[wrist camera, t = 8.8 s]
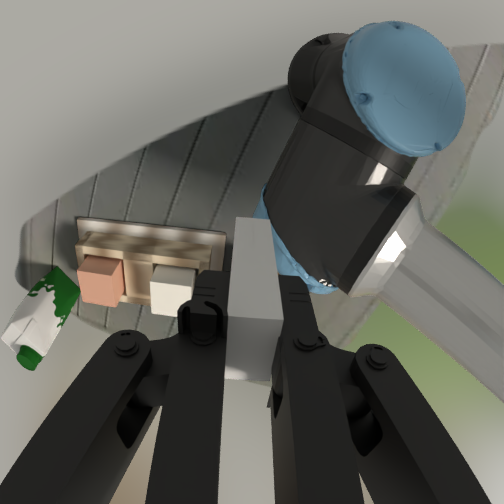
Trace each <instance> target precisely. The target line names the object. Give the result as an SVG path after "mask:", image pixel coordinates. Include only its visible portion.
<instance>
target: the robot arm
mask: <svg viewBox="0 0 504 504" xmlns="http://www.w3.org/2000/svg"><path fill="white" fill-rule="evenodd" d="M288 88H289V93H290V96H291V99H292V101H293V103H294V105H295V107H296V108H297V110H298V111H299V113H300V114H301V115H302V116H301V118H300V119H299V121H298V123H297V125H296V127H295V129H294V131H293V133H292V134H291V136H290V138H289V140H288V142H287V144H286V146H285V148H284V150H283V152H282V154H281V156H280V158H279V160H278V162H277V164H276V166H275V168H274V170H273V172H272V174H271V176H270V178H269V180H268V182H267V183H266V184H265V185H264V187H263V188H262V191H261V198H260V200H259V203H258V205H257V207H256V210H255V212H254V214H253V217H252V218H246V217H236V224H235V234H234V244H233V255H232V265H231V272H227V271H215V270H203V271H202V272H201V273H200V274H199V275H198V276H197V277H196V281H195V285H194V289H193V293H192V298H191V300H188V301H186V302H185V303H183V304H182V305H180V307H179V309H178V310H177V318H178V332H179V333H177V334H176V335H174V336H172V337H170V338H166V339H161V340H153V341H149V339H148V338H147V337H146V336H145V335H144V334H142V333H140V332H139V331H134V330H121V331H118V332H116V333H114V334H112V335H111V336H110V337H108V338H107V339H106V340H105V342H104V343H103V344H102V345H101V347H100V348H99V349H98V351H97V352H96V353H95V354H94V355H93V357H92V358H91V359H90V361H89V362H88V363H87V364H86V366H85V367H84V368H83V369H82V371H81V372H80V373H79V375H78V376H77V377H76V379H75V380H74V381H73V382H72V384H71V385H70V387H69V388H68V389H67V391H66V392H65V393H64V395H63V396H62V397H61V398H60V400H59V401H58V402H57V404H56V405H55V406H54V408H53V409H52V410H51V412H50V413H49V415H48V416H47V417H46V419H45V420H44V421H43V423H42V424H41V426H40V427H39V428H38V430H37V431H36V433H35V434H34V436H33V437H32V438H31V440H30V441H29V443H28V444H27V446H26V447H25V449H24V450H23V451H22V453H21V454H20V456H19V457H18V459H17V460H16V462H15V463H14V465H13V466H12V468H11V469H10V471H9V473H8V474H7V475H6V477H5V478H4V480H3V482H2V483H1V485H0V504H109V503H110V501H111V499H112V497H113V495H114V493H115V491H116V489H117V487H118V486H119V483H120V482H121V480H122V478H123V476H124V474H125V472H126V470H127V468H128V466H129V465H130V463H131V460H132V459H133V457H134V455H135V453H136V451H137V449H138V448H139V446H140V444H141V442H142V440H143V438H144V436H145V434H146V432H147V431H148V429H149V426H150V425H151V423H152V421H153V419H154V417H155V415H156V414H157V412H158V410H159V408H160V406H163V407H162V412H161V416H160V421H159V427H158V432H157V437H156V442H155V448H154V454H153V460H152V465H151V470H150V477H149V482H148V489H147V495H146V501H145V504H218V484H219V463H220V445H221V427H222V410H223V394H224V378H225V379H239V380H257V381H270V378H271V374H272V388H271V392H270V396H269V400H268V404H267V407H268V408H269V407H270V406H271V425H272V444H273V467H274V490H275V504H364V499H363V493H362V488H361V483H360V477H359V473H360V475H361V477H362V480H363V482H364V484H365V485H366V488H367V490H368V492H369V494H370V496H371V498H372V500H373V502H374V504H491V502H490V500H489V499H488V497H487V495H486V493H485V492H484V490H483V489H482V487H481V485H480V484H479V482H478V480H477V478H476V477H475V475H474V473H473V472H472V470H471V468H470V467H469V465H468V464H467V462H466V461H465V459H464V457H463V455H462V454H461V452H460V451H459V449H458V447H457V446H456V444H455V443H454V441H453V440H452V438H451V437H450V435H449V433H448V432H447V430H446V429H445V427H444V426H443V424H442V423H441V421H440V420H439V418H438V417H437V415H436V414H435V412H434V411H433V409H432V408H431V406H430V405H429V404H428V402H427V401H426V399H425V398H424V396H423V395H422V393H421V392H420V390H419V389H418V387H417V386H416V385H415V383H414V382H413V380H412V379H411V377H410V376H409V375H408V373H407V372H406V370H405V369H404V368H403V366H402V365H401V363H400V362H399V361H398V359H397V358H396V356H395V355H394V354H393V353H392V352H391V351H390V350H389V349H387V348H385V347H383V346H381V345H377V344H366V345H364V346H362V347H360V348H359V349H358V351H357V352H356V353H354V352H349V351H345V350H342V349H339V348H336V347H334V346H332V345H330V344H329V342H328V340H327V338H326V336H324V335H323V334H322V333H321V332H320V331H319V330H318V326H317V322H316V318H315V314H314V310H313V306H312V303H311V298H310V295H309V291H310V292H313V293H317V294H329V293H331V292H333V291H335V290H337V289H341V290H342V291H343V292H345V293H346V294H347V295H348V296H350V297H358V296H366V295H373V296H376V297H377V298H379V299H380V300H381V301H383V302H384V303H385V304H386V305H388V306H389V307H390V308H391V309H393V310H394V311H395V312H396V313H398V314H399V315H400V316H401V317H403V318H404V319H405V320H406V321H408V322H409V323H410V324H411V325H412V326H414V327H415V328H416V329H417V330H419V331H420V332H421V333H422V334H424V335H425V336H426V337H427V338H428V339H430V340H431V341H432V342H433V343H435V344H436V345H437V346H438V347H439V348H441V349H442V350H443V351H444V352H445V353H447V354H448V355H449V356H450V357H451V358H452V359H454V360H455V361H456V362H457V363H458V364H460V365H461V366H462V367H463V368H464V369H465V370H467V371H468V372H469V373H470V374H471V375H473V376H474V377H475V378H476V379H477V380H478V381H479V382H480V383H482V384H483V385H484V386H485V387H486V388H487V389H488V390H490V391H491V392H492V393H493V394H494V395H495V396H496V397H497V398H499V399H500V400H501V401H502V402H503V403H504V285H503V284H502V283H501V282H500V281H499V280H498V279H496V278H495V277H494V276H493V275H492V274H491V273H490V272H489V271H488V270H486V269H485V268H484V267H483V266H482V265H481V264H480V263H478V262H477V261H476V260H475V259H474V258H473V257H471V256H470V255H469V254H468V253H466V252H465V251H464V250H463V249H462V248H460V247H459V246H458V245H457V244H455V243H454V242H453V241H452V240H451V239H449V238H448V237H447V236H446V235H444V234H443V233H442V232H440V231H439V230H438V229H436V228H435V227H434V226H432V225H431V224H430V223H428V221H427V220H426V219H425V217H424V214H423V209H422V205H421V201H420V197H419V195H417V194H416V193H414V192H413V191H411V190H410V189H408V188H407V187H406V186H405V185H404V182H405V180H406V179H407V177H408V175H409V173H410V172H411V170H412V168H413V166H414V165H415V163H416V161H417V159H418V157H423V156H428V155H431V154H432V153H434V152H435V151H441V150H443V149H444V148H446V147H447V146H448V145H449V144H450V143H451V142H452V141H453V140H454V139H455V137H456V136H457V134H458V132H459V131H460V128H461V126H462V123H463V120H464V115H465V108H466V95H465V88H464V84H463V83H462V82H461V79H460V76H459V68H458V66H457V64H456V62H455V60H454V59H453V57H452V55H451V54H450V53H449V51H448V50H447V49H446V48H445V46H444V45H443V44H442V43H441V42H440V41H439V40H438V39H437V38H435V37H434V36H433V35H432V34H430V33H429V32H427V31H426V30H424V29H422V28H420V27H418V26H416V25H413V24H410V23H406V22H400V21H387V22H381V23H370V24H367V25H365V26H364V27H362V28H360V29H359V30H357V31H355V32H354V33H352V34H350V35H349V34H344V33H332V34H325V35H321V36H319V37H316V38H314V39H312V40H311V41H309V42H308V43H307V44H305V45H304V46H302V47H301V48H300V50H299V51H298V52H297V53H296V54H295V56H294V58H293V60H292V62H291V64H290V67H289V72H288ZM277 271H278V272H279V273H280V274H281V275H278V273H277ZM358 471H359V472H358Z"/></svg>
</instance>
